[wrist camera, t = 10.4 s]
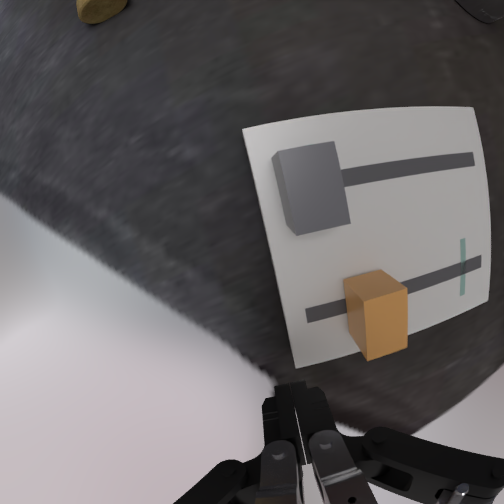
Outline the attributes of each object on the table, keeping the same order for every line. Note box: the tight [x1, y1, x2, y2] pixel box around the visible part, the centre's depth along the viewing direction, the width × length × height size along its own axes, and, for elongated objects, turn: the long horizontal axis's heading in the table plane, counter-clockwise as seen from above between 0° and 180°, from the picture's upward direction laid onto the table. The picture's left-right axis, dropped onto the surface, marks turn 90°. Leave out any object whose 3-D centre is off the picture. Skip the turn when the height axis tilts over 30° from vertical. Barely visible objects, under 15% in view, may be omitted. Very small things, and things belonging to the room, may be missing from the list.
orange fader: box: [343, 270, 408, 361], centre depth 18 cm, size 4×3×4 cm
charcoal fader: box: [271, 141, 351, 236], centre depth 16 cm, size 4×3×4 cm
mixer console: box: [242, 106, 491, 369], centre depth 21 cm, size 18×20×3 cm
